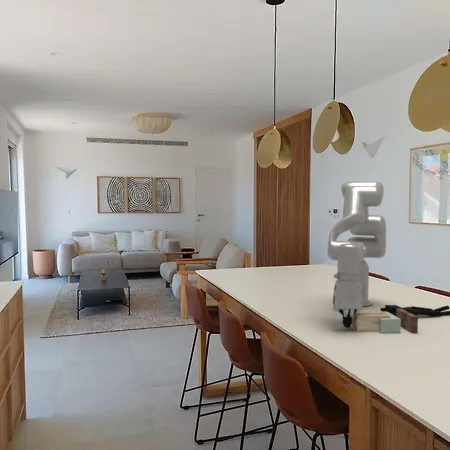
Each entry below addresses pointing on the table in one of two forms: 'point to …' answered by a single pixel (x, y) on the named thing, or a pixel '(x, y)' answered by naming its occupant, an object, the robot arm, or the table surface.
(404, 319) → the board
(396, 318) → the block
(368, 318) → the beige wooden brick
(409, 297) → the table surface
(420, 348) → the table surface
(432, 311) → the toy
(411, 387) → the table surface
